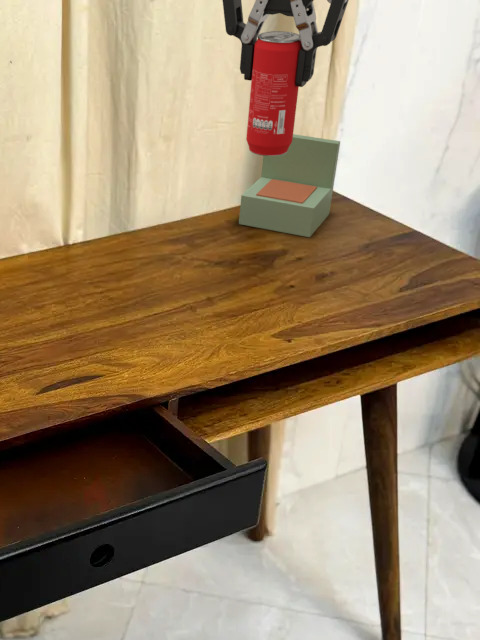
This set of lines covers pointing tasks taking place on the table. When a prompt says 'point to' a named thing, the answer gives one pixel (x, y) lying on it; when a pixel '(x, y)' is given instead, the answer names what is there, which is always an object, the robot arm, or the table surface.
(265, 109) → the beverage can
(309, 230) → the shelf stand
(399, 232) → the table surface
